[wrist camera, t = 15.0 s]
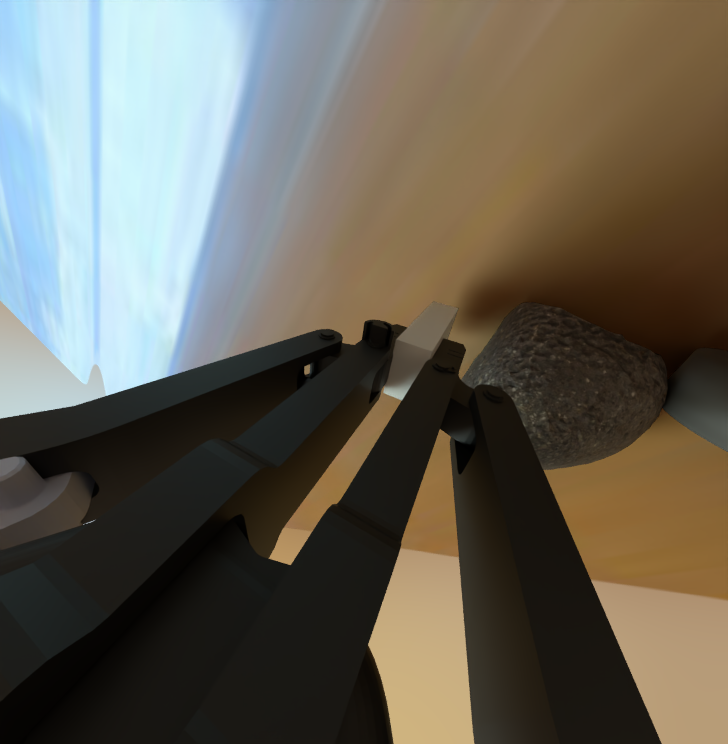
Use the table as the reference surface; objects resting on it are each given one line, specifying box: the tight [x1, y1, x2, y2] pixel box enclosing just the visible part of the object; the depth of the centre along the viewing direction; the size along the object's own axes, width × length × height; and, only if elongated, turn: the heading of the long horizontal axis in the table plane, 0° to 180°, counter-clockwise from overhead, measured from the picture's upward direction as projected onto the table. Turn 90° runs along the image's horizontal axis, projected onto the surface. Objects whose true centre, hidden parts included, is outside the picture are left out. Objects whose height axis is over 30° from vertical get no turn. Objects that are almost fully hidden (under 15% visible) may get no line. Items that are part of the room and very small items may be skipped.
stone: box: [461, 302, 668, 470], centre depth 15 cm, size 10×8×10 cm
